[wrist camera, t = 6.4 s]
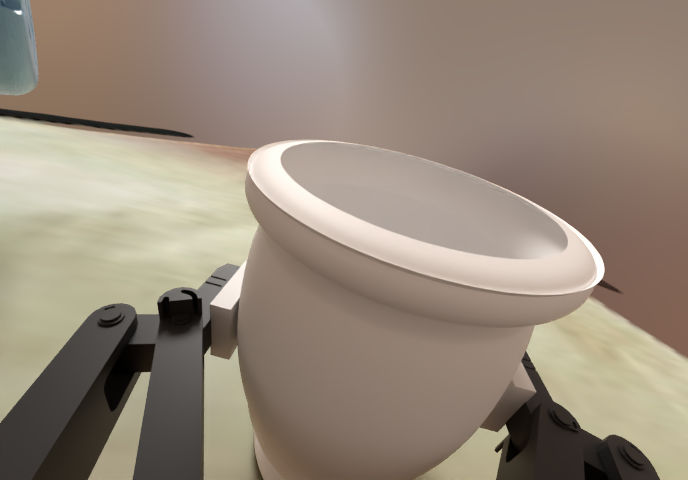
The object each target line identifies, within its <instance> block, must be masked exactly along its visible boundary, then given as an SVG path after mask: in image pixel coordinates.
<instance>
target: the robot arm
mask: <svg viewBox="0 0 688 480" xmlns="http://www.w3.org/2000/svg"><path fill="white" fill-rule="evenodd" d="M37 82H38V63H37V53H36V44H35V35H34V28H33V21H32V13H31V6H30V0H0V94H4V95H22V94H25V93H28V92H30V91H32V90H33V89H34V88H35V86H36V85H37ZM246 263H247V260H246V261H245V262H244V263H243V265H242V266H241V267H239V266H236V265H232V264H226V265H224V266H222V267H220V268H218V269H217V270H216V271H215V272H214V273H213V274H212V275H211V277H209V278H208V279H207V280H206V282H205V283H203V284H202V286H201V287H200V288H199V289H198V290H195V289H192V288H186V287H181V288H175V289H172V290H170V291H167V292H165V293H164V294H163V295H162V296H161V297H160V298H159V300H158V302H157V304H158V311H159V314H156V315H146V314H136V311H135V308H134V307H132V306H130V305H128V304H122V303H121V304H111V305H108V306H104V307H102V308H100V309H98V310H96V311H94V312H93V313H92V314H91V315H90V316H88V318H87V319H86V320H85V321H84V322H83V324H82V325H81V326H80V327H79V329H78V330H77V331H76V332H75V333H74V335H73V336H72V337H71V338H70V339H69V341H68V342H67V343H66V344H65V345H64V347H63V348H62V349H61V350H60V352H59V353H58V354H57V355H56V356H55V358H54V359H53V360H52V361H51V362H50V364H49V365H48V366H47V367H46V368H45V370H44V371H43V372H42V373H41V374H40V376H39V377H38V378H37V379H36V381H35V382H34V383H33V384H32V385H31V387H30V388H29V389H28V390H27V391H26V393H25V394H24V395H23V396H22V397H21V399H20V400H19V401H18V402H17V404H16V405H15V406H14V407H13V408H12V410H11V411H10V412H9V413H8V414H7V416H6V417H5V418H4V419H3V420H2V422H1V423H0V480H88V478H89V476H90V474H91V472H92V470H93V468H94V466H95V464H96V462H97V460H98V458H99V456H100V454H101V452H102V450H103V448H104V446H105V444H106V442H107V440H108V438H109V436H110V434H111V432H112V430H113V428H114V426H115V424H116V422H117V420H118V418H119V416H120V414H121V412H122V410H123V408H124V406H125V404H126V402H127V400H128V398H129V396H130V394H131V392H132V390H133V388H134V386H135V384H136V382H137V380H138V378H139V376H140V374H141V372H151V375H150V381H149V387H148V393H147V399H146V405H145V410H144V416H143V422H142V428H141V434H140V440H139V446H138V452H137V458H136V464H135V470H134V476H133V480H203V476H204V355H205V353H206V352H207V350H208V349H209V347H210V346H211V355H214V356H217V357H221V358H225V359H230V357H231V356H232V354H233V352H234V350H235V349H236V347H237V345H238V341H237V326H238V310H239V300H240V293H241V287H242V281H243V276H244V271H245V267H246ZM505 424H506V426H507V429H508V432H509V435H508V436H507V437H506V438H505V439H504V440H503V441H502V442H501V443H500V444H499V445H498V446H497V447H496V448H495V450H494V451H496V452H498V451H500V450H501V449H502V454H501V458H500V463H499V468H498V473H497V478H496V480H660V479H659V477H658V475H657V473H656V471H655V469H654V467H653V466H652V464H651V462H650V461H649V459H648V458H647V457H646V456H645V455H644V454H643V453H642V452H641V451H640V450H639V449H638V448H637V447H636V446H634V445H633V444H632V443H631V442H629V441H627V440H626V439H624V438H622V437H620V436H617V435H609V436H608V437H606V438H605V439H603V440H601V439H599V438H598V437H596V436H594V435H592V434H590V433H588V432H587V431H585V430H583V429H581V428H580V425H579V424H578V422H577V421H576V419H575V418H574V417H573V416H572V415H571V414H570V412H569V411H567V410H566V409H565V408H564V407H562V406H561V405H559V404H557V403H555V402H553V400H552V398H551V396H550V395H549V393H548V391H547V389H546V387H545V385H544V383H543V382H542V380H541V378H540V376H539V374H538V372H537V371H535V367H534V365H533V363H532V362H531V360H530V358H529V356H528V354H527V352H526V351H525V354H524V356H523V358H522V360H521V362H520V364H519V366H518V368H517V370H516V372H515V374H514V376H513V378H512V380H511V382H510V383H509V385H508V387H507V388H506V390H505V392H504V393H503V395H502V397H501V398H500V400H499V401H498V403H497V404H496V406H495V407H494V409H493V410H492V411H491V413H490V414H489V416H488V417H487V418H486V419H485V421H484V422H483V423H482V424H481V426H480V428H484V429H488V430H491V431H495V432H498V431H499V430H500V429H501V428H502V427H503V426H504V425H505Z"/></svg>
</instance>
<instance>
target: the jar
mask: <svg viewBox="0 0 688 480" xmlns="http://www.w3.org/2000/svg"><path fill="white" fill-rule="evenodd" d="M245 192H246V197H247V201H248V204H249V206H250V209H251V211H252V213H253V215H254V217H255V218H256V220H257V221H258V223H259V226H258V228H257V230H256V233H255V236H254V239H253V241H252V245H251V248H250V251H249V255H248V259H247V263H246V267H245V271H244V276H243V281H242V287H241V293H240V300H239V310H238V326H237V341H238V357H239V365H240V372H241V378H242V383H243V387H244V392H245V395H246V399H247V402H248V408H249V414H250V418H251V422H252V425H253V429H254V447H255V454H256V459H257V463H258V466H259V469H260V472H261V474H262V477H263V479H264V480H412V479H414V478H416V477H418V476H420V475H422V474H424V473H426V472H428V471H429V470H431V469H432V468H434V467H436V466H437V465H439V464H440V463H441V462H443V461H444V460H445V459H447V458H448V457H449V456H450V455H452V454H453V453H454V452H455V451H456V450H457V449H459V448H460V447H461V446H462V445H463V444H464V443H465V442H466V441H467V440H468V439H469V438H470V437H471V436H472V435H473V434H474V433H475V431H476V430H477V429H478V428H479V427H480V426H481V424H482V423H483V422H484V421H485V419H486V418H487V417H488V416H489V414H490V413H491V411H492V410H493V409H494V407H495V406H496V404H497V403H498V401H499V400H500V398H501V397H502V395H503V393H504V392H505V390H506V388H507V387H508V385H509V383H510V382H511V380H512V378H513V376H514V374H515V372H516V370H517V368H518V366H519V364H520V362H521V360H522V358H523V356H524V354H525V351H526V349H527V346H528V344H529V341H530V338H531V335H532V332H533V329H534V325H539V324H544V323H548V322H551V321H554V320H557V319H559V318H562V317H564V316H566V315H568V314H570V313H572V312H573V311H575V310H576V309H578V308H579V307H580V306H581V305H582V304H583V303H584V302H585V301H586V300H587V299H588V297H589V296H590V294H591V292H592V291H593V289H594V287H595V285H596V284H597V283H598V282H599V281H600V280H601V279H602V277H603V275H604V264H603V260H602V258H601V256H600V254H599V253H598V252H597V250H596V249H595V248H594V246H593V245H592V244H591V243H590V242H589V241H588V240H587V239H586V238H585V237H584V236H583V235H581V234H580V233H579V232H578V231H577V230H576V229H574V228H573V227H572V226H570V225H569V224H568V223H566V222H565V221H563V220H561V219H560V218H559V217H557V216H555V215H554V214H552V213H551V212H549V211H547V210H546V209H544V208H542V207H540V206H539V205H537V204H535V203H533V202H531V201H529V200H527V199H525V198H523V197H522V196H519V195H517V194H515V193H513V192H511V191H509V190H507V189H504V188H502V187H500V186H498V185H495V184H493V183H491V182H488V181H486V180H483V179H481V178H478V177H476V176H473V175H471V174H468V173H465V172H463V171H460V170H457V169H454V168H451V167H449V166H445V165H442V164H439V163H436V162H433V161H430V160H426V159H423V158H419V157H415V156H412V155H408V154H404V153H400V152H395V151H391V150H386V149H381V148H377V147H371V146H365V145H359V144H353V143H346V142H337V141H326V140H289V141H281V142H276V143H272V144H268V145H265V146H263V147H261V148H259V149H257V150H256V151H255V152H254V153H253V154H252V155H251V156H250V158H249V160H248V171H247V174H246V180H245Z"/></svg>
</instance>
